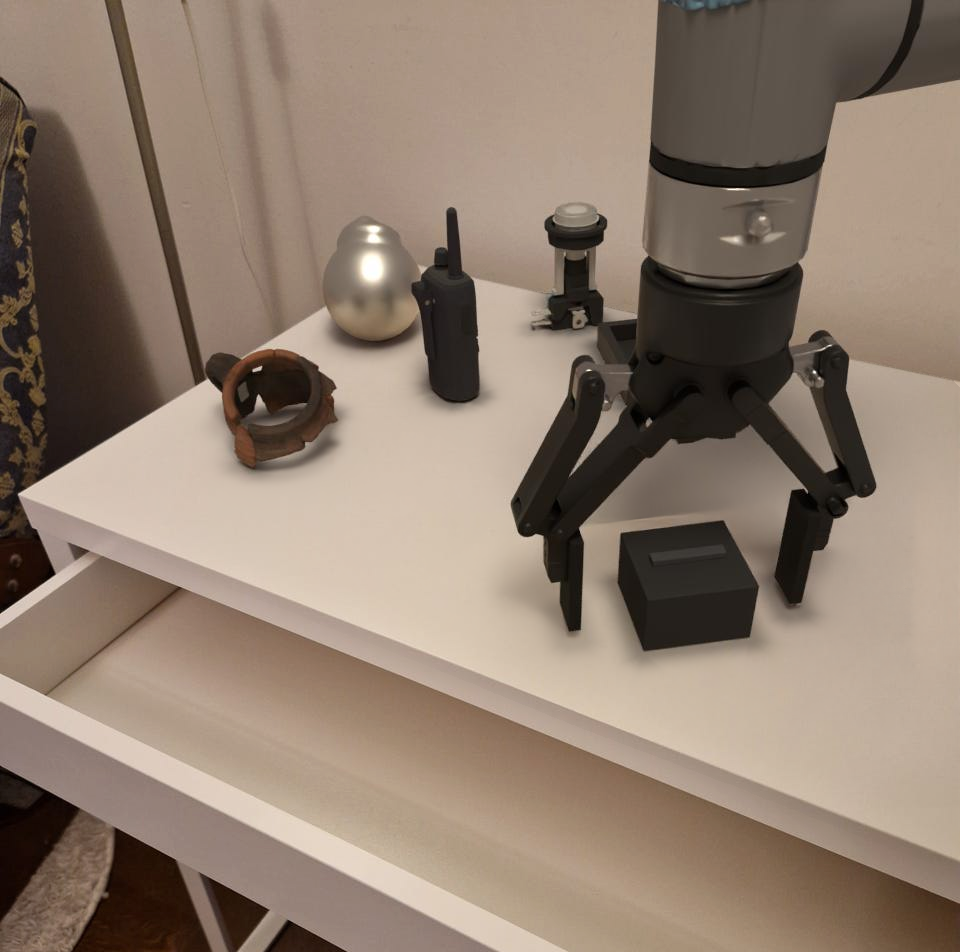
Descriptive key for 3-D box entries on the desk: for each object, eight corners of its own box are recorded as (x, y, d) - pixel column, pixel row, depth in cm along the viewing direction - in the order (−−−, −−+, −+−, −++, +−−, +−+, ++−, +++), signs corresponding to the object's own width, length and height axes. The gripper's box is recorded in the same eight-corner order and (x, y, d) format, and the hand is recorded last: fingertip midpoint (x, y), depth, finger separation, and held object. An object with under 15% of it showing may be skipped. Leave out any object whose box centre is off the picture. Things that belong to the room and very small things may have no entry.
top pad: (716, 570, 64) (724, 514, 61) (750, 637, 59) (760, 580, 56) (617, 582, 64) (620, 526, 61) (643, 651, 59) (648, 594, 56)
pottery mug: (372, 419, 81) (355, 363, 73) (311, 515, 79) (287, 467, 71) (248, 359, 83) (219, 298, 75) (185, 450, 81) (148, 397, 73)
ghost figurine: (442, 315, 93) (434, 205, 87) (407, 363, 87) (394, 247, 80) (353, 307, 96) (338, 199, 89) (312, 352, 89) (292, 240, 82)
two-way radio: (488, 398, 82) (479, 209, 72) (440, 414, 80) (424, 224, 70) (456, 371, 85) (443, 188, 75) (409, 385, 84) (389, 201, 74)
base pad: (714, 332, 88) (717, 309, 87) (755, 390, 81) (759, 366, 79) (596, 345, 88) (597, 322, 86) (626, 405, 80) (627, 381, 78)
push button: (539, 342, 88) (539, 227, 82) (523, 317, 92) (521, 205, 86) (611, 330, 89) (616, 216, 83) (592, 306, 93) (596, 195, 87)
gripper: (468, 317, 43) (486, 670, 57) (1018, 263, 45) (902, 618, 59) (448, 251, 49) (469, 588, 63) (939, 205, 50) (851, 543, 65)
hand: (679, 603), depth 61 cm, fingers open, 13 cm apart
